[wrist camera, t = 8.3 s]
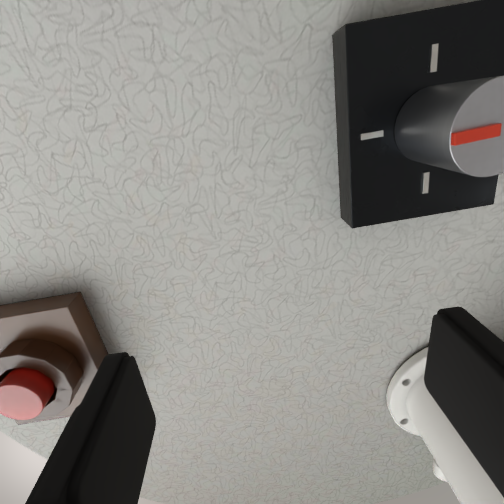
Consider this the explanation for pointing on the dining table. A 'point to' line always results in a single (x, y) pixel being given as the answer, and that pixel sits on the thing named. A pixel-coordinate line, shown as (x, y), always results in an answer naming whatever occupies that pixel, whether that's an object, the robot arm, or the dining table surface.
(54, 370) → the button block
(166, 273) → the dining table surface
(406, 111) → the tap knob
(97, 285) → the dining table surface
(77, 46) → the dining table surface
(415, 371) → the robot arm
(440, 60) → the plate
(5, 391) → the button
